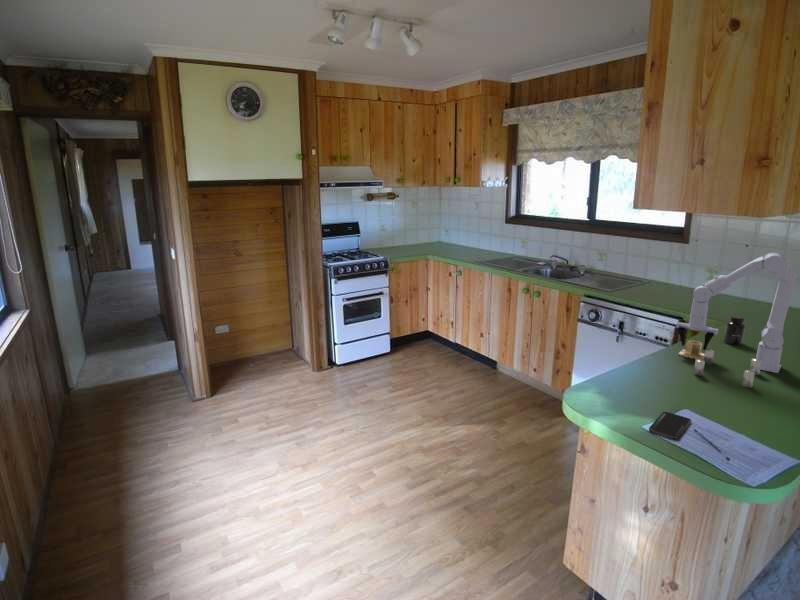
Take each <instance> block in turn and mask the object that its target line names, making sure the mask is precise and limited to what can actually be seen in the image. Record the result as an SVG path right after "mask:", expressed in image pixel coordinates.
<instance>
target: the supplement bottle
mask: <svg viewBox="0 0 800 600" xmlns="http://www.w3.org/2000/svg"><path fill="white" fill-rule="evenodd" d="M744 320H745V318H744V316H739V315H731V316H730V318H729V321H727V323H726V325H725V330H724V334H723V335H724V336H723V342H724V343H725V344H727V345H732V346H741V345H742V344H743V340H744V337H745V336H744V334H745V329H746V324H744V322H745V321H744Z"/></svg>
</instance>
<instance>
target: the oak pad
mask: <svg viewBox="0 0 800 600" xmlns="http://www.w3.org/2000/svg"><path fill="white" fill-rule="evenodd" d="M685 349H686V348H685ZM685 349H683V348H682V350H680V351H679V352H678V354H677V356H680V357H683V356H684V357H685V358H688V357H689V358H688V359H693V358H695V359H694V360H696V359H700V360H704V354H705V352H704V353H703V352H701V355H700V356H690V355H688V354H685Z"/></svg>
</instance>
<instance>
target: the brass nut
mask: <svg viewBox="0 0 800 600" xmlns="http://www.w3.org/2000/svg"><path fill="white" fill-rule="evenodd" d="M702 350H703V342H702V341H698V340H687V341H686V342H685V354H688V355H690V356H700V355H701V353H702Z"/></svg>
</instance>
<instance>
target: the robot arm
mask: <svg viewBox="0 0 800 600" xmlns="http://www.w3.org/2000/svg"><path fill="white" fill-rule="evenodd" d="M764 270H765V271H766V272H767V273H770V274H772V275H774V277H775V278H776V279H777V280H778V284H777V286H776V291H775V296H774V299H773V302H772V306H771V311H770V314H769V317H768V319H767V322H766V326H765V327H764V328H762V329H761V332H760V335H761V341H759V342H758V345H757V351H756V357H755V358H757V359H760V360H762V362H761V367H760V371H766V372H770V373H775V374H779V372H780V370H781V367H782V365H781V364H780V362H781V357H782V353H783V344H784V341H785V340H784V337H783V333H784V328H785V327H784V325H785V322H786V321H785V320H786V318H787V317H786V316H787V314H788V311H789V307H790V303H791V300H792V296H793V292H794V289H795V284H796V281H797V275H796V274H795V272H794V270H793V269H792V267H791V265H790V264H789V261H788V260H787V259H786V258H785V257H784V256H783V255H782V254H780V253H778V252H769V253H766V254H765V255H764V256H763V255H761V256H759V257H757V258H754V260H752V261H750V262H748V263H746V264H745V265H743V266H741V267H739V268H737V269H735V270H734V271H732V272H731V273H729V274H726V275H724V274H723V275H722V274H720V275H714V277H713V279H711V280H709V281H707V282H703V283H701V285H699V286H697V287H695V288H694V290H693V293H692V297H693V298H692V304H691V309H690V314H689V322H688V323H687V322H676V323H675V324H676V325H675V328H676V329H677V328H678V329H677V332H678V334H679V336H680V340H681V347H684V346H686V342H687V341H686V339H687V333H688V330H690V331H696V332H701V333H705V334H704V342H703V343H704V344H703V346H702V350H703V351H705V349H708V348H707V347H708V345H709V343H710V341H711V339H712V338H713V337H715V335H716V336H717V335H718V334H719V328H716V327H715V328H714V327H710V326H708V325H707V318H708V311H709V300H710V299H711V297H714V296H716V295H719V294H720V293H723V292H724V291H726V290H728V289H730V288H731V286H732V284H733V282H736V281H738V280H740V279H743V278H744V277H746V276H749V275H750V274H753V273H764ZM706 325H707V326H706Z"/></svg>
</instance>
